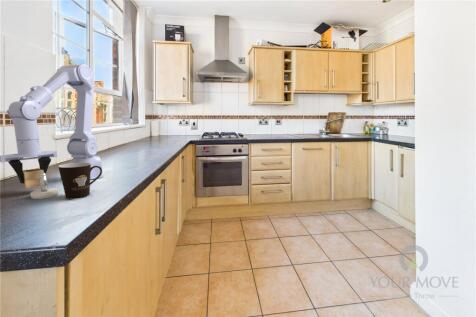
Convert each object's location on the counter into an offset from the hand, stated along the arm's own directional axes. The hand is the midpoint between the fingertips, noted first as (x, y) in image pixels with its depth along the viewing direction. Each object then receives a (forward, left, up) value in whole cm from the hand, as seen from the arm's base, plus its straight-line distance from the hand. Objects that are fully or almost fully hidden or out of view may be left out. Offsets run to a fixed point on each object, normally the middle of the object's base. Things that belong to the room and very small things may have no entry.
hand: (33, 181), depth 85 cm
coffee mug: (-9, +16, -4) cm, 19 cm away
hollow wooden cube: (0, 0, -1) cm, 1 cm away
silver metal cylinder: (-1, +7, -2) cm, 7 cm away
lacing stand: (-1, +7, -4) cm, 8 cm away
